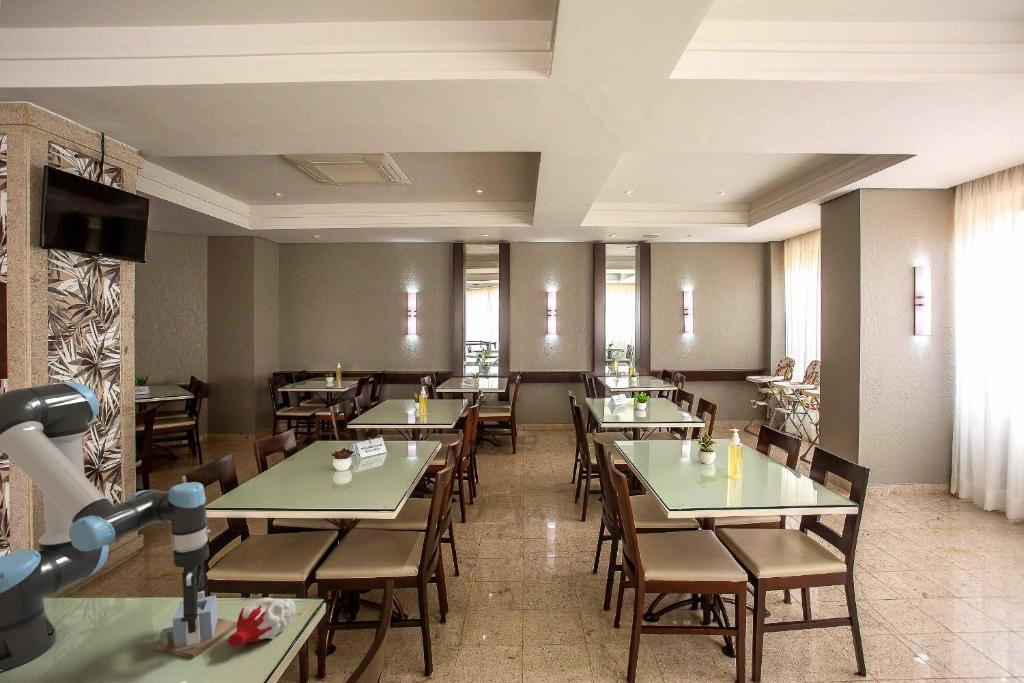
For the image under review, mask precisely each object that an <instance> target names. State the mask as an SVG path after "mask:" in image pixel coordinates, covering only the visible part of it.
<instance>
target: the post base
mask: <svg viewBox="0 0 1024 683" xmlns="http://www.w3.org/2000/svg"><path fill="white" fill-rule="evenodd" d="M198 610H201V608H200V607H198V608H197V611H198ZM235 629H237V621H233V620H228V619H224V618H218V622H217V625H216V628H215V631H214V634H213V638H212V639H208V640H204V641H200V642H199V643H196V644H192V645H188V646H187V644H186V645H182V646H178V647H175V646H174V641H173V642H169V645H168V646H166V647H164V646H163V644H161V641H160V640H159V641H158V642H156V643H155V644H153V645H152V646H153V647H152V648H153V650H157V651H159V652H165V653H169V654H173V655H177V656H181V657H185V658H189V659H195V658H197V656H199V655H200V654H202V653H203V652H204V651H206V650H208V649H209V648H211V646H213V645H214V644H216V643H217V642H218V641H220V640H221V639H223V638H224V637H225V636H226V635H229V634H230V633H231V632H232V631H234V630H235Z"/></svg>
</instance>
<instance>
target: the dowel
mask: <svg viewBox="0 0 1024 683" xmlns="http://www.w3.org/2000/svg"><path fill="white" fill-rule="evenodd" d="M168 645H169V633H168V632H165V633H163V646H164V647H166V646H168Z"/></svg>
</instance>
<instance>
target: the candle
mask: <svg viewBox="0 0 1024 683" xmlns="http://www.w3.org/2000/svg"><path fill="white" fill-rule="evenodd" d="M296 610H297V607H296V602H295V600H293V599H292V598H291V599H290V598H282V599H279V598H272V597H262V598H259V599H256V600H255V601H253V602H251V603H249V604H248V605H246V606H245V607H242V609H241V610H240V612H239V615H238V618H237V620H236V622H237V627H236V630H235V631H234V632H233V633H232V634H230V635H229V636H228V638H227V640H226V641H227V644H228V645H229V646H231V647H232V648H234V647H237V648H239V647H241V646H244V645H245V644H246V643H259V642H261V641H264V640H265V639H271V640H273V639H274V638H275V637H276V636H277V635H278V634H280V633H281V632H282V631H283V630H285V629H286V628H287V627H288V625H289V624H290V622H291V619H292V618H293V617H294V616H295V614H296Z"/></svg>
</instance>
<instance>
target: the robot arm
mask: <svg viewBox="0 0 1024 683" xmlns="http://www.w3.org/2000/svg"><path fill="white" fill-rule="evenodd" d="M98 401H99V400H98V399H97V396H96V395H95V393H94V391H92V390H91V389H90V388H89V387H88V386H86V385H84V384H83V383H80V382H61V383H60V382H59V383H53V384H45V385H38V386H32V387H26V388H25V387H24V388H15V389H11V390H8V391H5V392H3V393H1V394H0V454H5V455H7V456H8V458H9V459H10V460H11V461H12V462H13V463H14V464H15V465H16V466H17V467H18V468H19V469H20V470H21V471H22V472H23V473H24V474H25V475H26V476H27V477H28V478H29V479H30V481H31V482H32V483H33V484H35V486H36V487H37V488H38V489H39V491H41V492H42V499H43V500H42V501H43V502H42V503H43V513H44V525H45V532H44V534H42V535H41V537H40V538H39V539H38V550H36V549H24V550H19V551H16V552H14V553H9V554H6V555H3V556H0V670H5V669H8V670H10V669H9V668H11V669H14V668H16V667H20V666H22V665H24V664H26V663H28V662H30V661H32V660H34V659H36V658H39V657H40V656H42V655H43V654H45V653H46V652H47V651H48V649H49V648H50V649H51V648H52V647H53V646H54V645H55V644H56V642H57V639H56V638H57V631H56V627H54V624H53V623H52V622H51V621H52V620H50V618H49V616H47V614H46V611H45V599H46V598H47V597H49V596H51V595H53V594H55V593H57V592H59V591H62V590H63V589H65V588H67V587H70V586H71V585H73V584H75V583H78V582H80V581H83V580H85V579H87V578H88V577H89V576H91V575H93V574H95V573H96V572H98V571H99V570H100V569H101V568H102V567H103V566H104V565H105V563H106V561H107V559H108V555H109V545H110V544H111V543H112V542H115V541H116V540H119V539H120V538H123V537H125V536H127V535H130V534H133V533H135V532H137V531H139V530H141V529H144V528H145V527H148V526H151V525H153V524H155V523H164V524H170V527H171V529H170V530H171V533H170V534H171V545H172V546H171V548H172V550H173V551H172V556H173V559H172V560H173V565H174V567H177V568H183V571H182V572H181V573H182V575H181V577H182V580H181V581H182V589H183V590H182V592H183V598H182V599H183V601H182V602H183V609H184V618H182V619H181V622H183V621H184V622H185V626H186V640H187V646H188V645H192V644H196V643H199V642H200V629H199V615H198V614H197V601H198V599H199V598H204V597H205V590H207V589H208V585H207V584H205V583H206V582H205V578H204V570H203V562H206V560H208V559H209V556H210V551H209V550H210V548H209V543H208V537H209V536H208V534H210V533H211V529H210V528H208V525H207V524H208V523H207V507H206V506H207V505H206V503H207V502H206V501H207V498H206V495H205V488H204V484H202V483H201V482H196V481H191V482H182V483H180V484H179V483H178V484H176V485H174V486H172V487H170V489H169V490H168V491H167V490H157V489H145V490H139V491H136V492H135V493H133V494H132V495H131V496H130V497H129V498H128V499H127V500H126V501H125V502H121V503H118V504H116V505H114V504H113V503H112V502H111V501H110V500H109V499H108V498H107V497H106V496H105V495H104V494H103V493H102V492H101V491H100V490H99V489H98V488H97V487H96V486H95V485H94V483H92V482H91V481H90V479H88V478H87V477H86V476H85V465H84V464H85V463H84V462H85V460H84V449H83V437H84V436H85V435H86V434H87V433H88V432H89V430H90V429H89V424H90V423H92V421H94V420H95V419H96V418H97V415H98V414H99V407H100V406H99V402H98ZM207 528H208V529H207ZM54 643H55V644H54ZM53 644H54V645H53ZM52 645H53V646H52ZM51 646H52V647H51ZM50 649H49V650H50ZM5 671H6V670H5Z"/></svg>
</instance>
